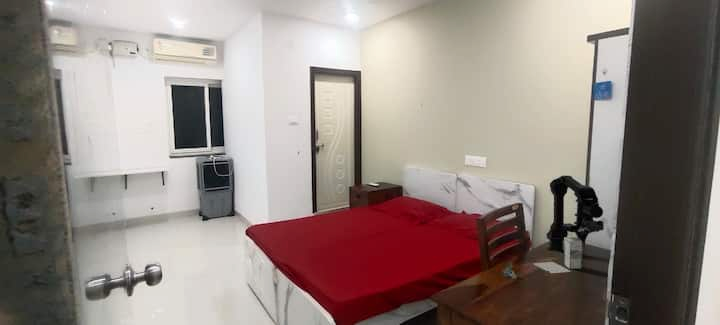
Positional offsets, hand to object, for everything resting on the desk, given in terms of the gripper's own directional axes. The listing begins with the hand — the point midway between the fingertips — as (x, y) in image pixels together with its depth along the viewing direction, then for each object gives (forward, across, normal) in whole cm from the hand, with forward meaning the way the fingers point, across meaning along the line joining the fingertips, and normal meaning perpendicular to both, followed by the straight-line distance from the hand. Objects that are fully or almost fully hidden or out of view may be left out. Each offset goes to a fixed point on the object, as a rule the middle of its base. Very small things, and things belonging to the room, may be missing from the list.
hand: (581, 244), depth 173 cm
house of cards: (+12, -45, -4) cm, 46 cm away
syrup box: (+12, -4, 0) cm, 12 cm away
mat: (+11, -15, +1) cm, 19 cm away
